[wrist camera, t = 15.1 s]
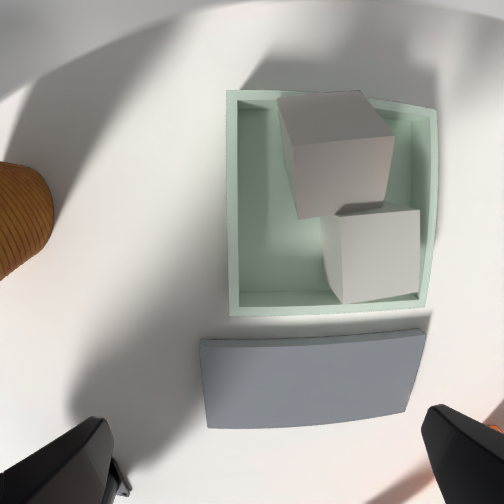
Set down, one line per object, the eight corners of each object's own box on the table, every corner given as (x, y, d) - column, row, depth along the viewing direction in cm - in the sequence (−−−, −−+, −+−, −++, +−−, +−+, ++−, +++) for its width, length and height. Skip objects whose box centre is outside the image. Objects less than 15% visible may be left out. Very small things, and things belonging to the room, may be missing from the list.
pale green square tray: (402, 289, 19) (424, 307, 16) (231, 295, 19) (229, 316, 16) (411, 117, 17) (436, 109, 14) (229, 103, 16) (226, 90, 14)
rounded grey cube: (386, 269, 18) (418, 291, 14) (323, 277, 18) (342, 304, 14) (385, 201, 17) (419, 209, 13) (318, 207, 17) (339, 217, 13)
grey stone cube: (382, 207, 14) (395, 136, 11) (298, 220, 14) (292, 146, 11) (356, 155, 16) (359, 90, 13) (284, 164, 17) (276, 98, 13)
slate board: (400, 404, 22) (404, 411, 21) (208, 419, 21) (207, 428, 20) (420, 328, 20) (426, 334, 19) (201, 339, 20) (199, 347, 19)
